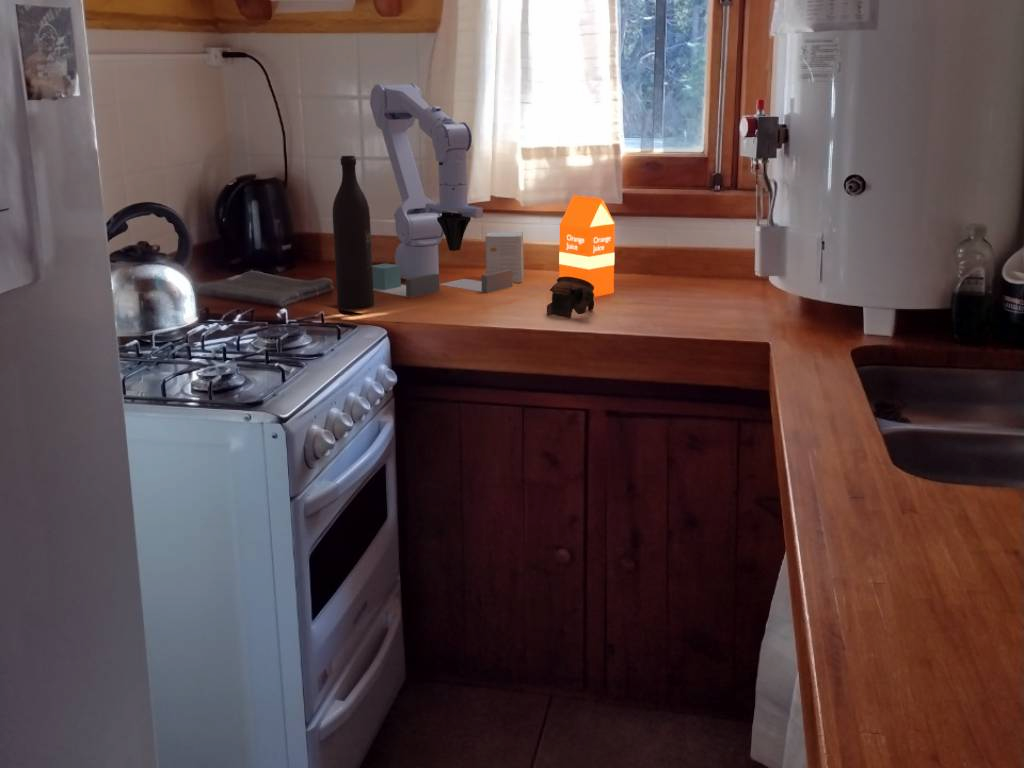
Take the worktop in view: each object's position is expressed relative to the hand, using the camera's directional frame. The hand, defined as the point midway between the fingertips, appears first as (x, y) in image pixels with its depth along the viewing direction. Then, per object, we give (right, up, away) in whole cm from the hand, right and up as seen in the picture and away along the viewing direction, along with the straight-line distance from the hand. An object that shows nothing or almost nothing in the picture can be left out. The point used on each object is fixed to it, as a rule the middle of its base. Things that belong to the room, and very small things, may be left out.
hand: (454, 250), depth 220 cm
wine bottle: (-19, -14, -12) cm, 26 cm away
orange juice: (+28, -9, +4) cm, 29 cm away
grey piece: (-13, -9, +3) cm, 16 cm away
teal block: (-15, -7, +5) cm, 17 cm away
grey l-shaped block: (+4, -8, +6) cm, 11 cm away
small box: (+10, -5, +17) cm, 21 cm away
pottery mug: (+24, -15, -16) cm, 32 cm away
